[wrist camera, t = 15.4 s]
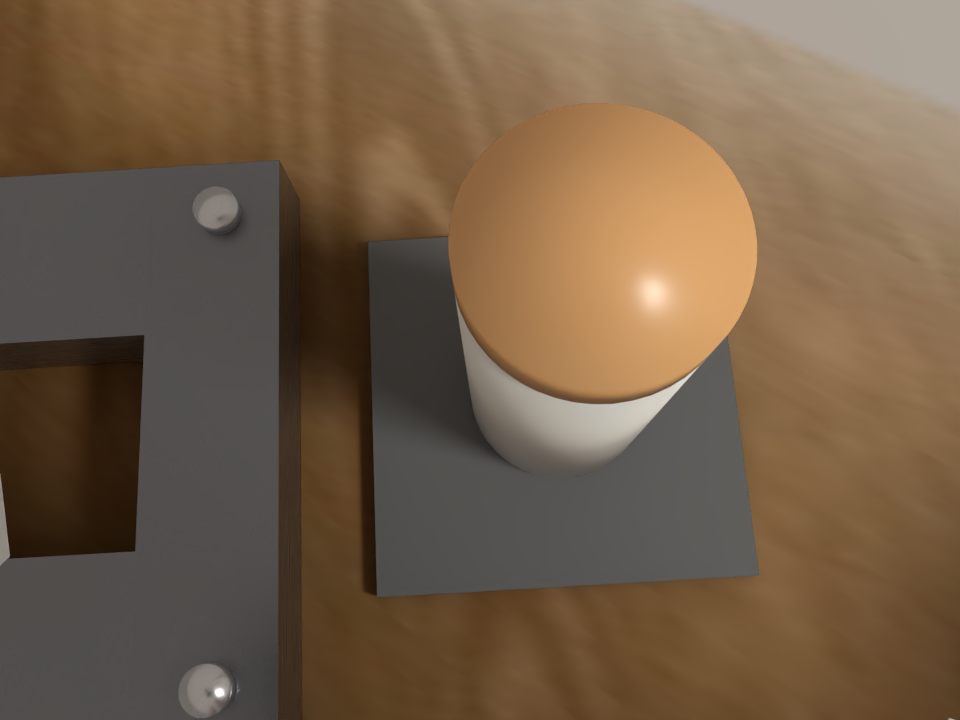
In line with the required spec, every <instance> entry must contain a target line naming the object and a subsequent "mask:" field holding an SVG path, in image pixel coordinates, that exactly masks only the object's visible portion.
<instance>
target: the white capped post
mask: <svg viewBox="0 0 960 720" xmlns="http://www.w3.org/2000/svg"><path fill="white" fill-rule="evenodd" d="M448 247H449V260H450V267H451V273H452V280H453V286H454V293H455V299H456V305H457V312H458V318H459V325H460V331H461V337H462V344H463V350H464V357H465V363H466V370H467V376H468V382H469V389H470V395H471V402H472V408H473V412H474V416H475V419H476V422H477V424H478V426H479V429H480V431H481V432H482V434H483V436H484V437H485V439H486V441H487V442H488V443H489V444H490V446H491V447H492V448H493V449H494V450H495V451H496V452H497V453H498V454H499V455H500V456H501V457H502V458H504V459H505V460H506V461H508V462H509V463H510V464H512V465H514V466H516V467H517V468H519V469H521V470H523V471H526V472H528V473H531V474H534V475H538V476H542V477H549V478H571V477H577V476H582V475H585V474H589V473H591V472H594V471H596V470H598V469H600V468H602V467H604V466H605V465H607V464H609V463H610V462H612V461H613V460H614V459H615V458H617V457H618V456H619V455H620V454H621V453H622V452H623V451H624V450H625V449H626V448H627V447H628V445H629V444H630V443H631V442H632V441H633V440H634V439H635V438H636V436H637V435H638V434H639V433H640V432H641V431H642V430H643V429H644V428H645V426H646V425H647V424H648V423H649V422H650V421H651V420H652V419H653V418H654V416H655V415H656V414H657V413H658V412H659V411H660V410H661V409H662V407H663V406H664V405H665V404H666V403H667V402H668V401H669V400H670V399H671V397H672V396H673V395H674V394H675V393H676V392H677V391H678V390H679V388H680V387H681V386H682V385H683V384H684V383H685V382H686V381H687V380H688V378H689V377H690V376H691V375H692V374H693V373H694V372H695V371H696V370H697V368H698V367H699V366H700V365H701V364H702V363H703V362H704V361H705V359H706V358H707V357H708V356H709V355H710V354H711V353H712V352H713V351H714V349H715V348H716V347H717V346H718V345H719V344H720V343H721V342H722V341H723V339H724V338H725V337H726V336H727V335H728V333H729V332H730V331H731V329H732V328H733V326H734V325H735V323H736V322H737V320H738V319H739V317H740V315H741V313H742V311H743V309H744V307H745V305H746V303H747V301H748V298H749V295H750V292H751V289H752V286H753V282H754V276H755V271H756V265H757V239H756V230H755V224H754V220H753V216H752V212H751V208H750V206H749V203H748V201H747V199H746V196H745V194H744V191H743V189H742V187H741V186H740V184H739V182H738V180H737V179H736V177H735V175H734V174H733V172H732V171H731V170H730V168H729V167H728V166H727V164H726V163H725V162H724V160H723V159H722V158H721V157H720V156H719V155H718V154H717V153H716V152H715V151H714V150H713V149H712V148H711V147H710V146H709V145H708V144H707V143H706V142H704V141H703V140H702V139H701V138H700V137H698V136H697V135H696V134H695V133H693V132H691V131H690V130H688V129H687V128H685V127H683V126H682V125H680V124H679V123H677V122H675V121H672V120H670V119H668V118H666V117H664V116H662V115H659V114H656V113H653V112H650V111H647V110H644V109H641V108H636V107H631V106H626V105H619V104H608V103H591V104H579V105H572V106H565V107H562V108H558V109H554V110H551V111H547V112H544V113H542V114H539V115H537V116H535V117H532V118H530V119H528V120H526V121H524V122H522V123H521V124H519V125H517V126H515V127H513V128H512V129H510V130H509V131H508V132H506V133H505V134H504V135H502V136H501V137H500V138H498V139H497V140H496V141H495V142H494V143H493V144H492V145H491V146H490V147H489V148H488V149H487V150H486V151H485V152H484V153H483V154H482V155H481V156H480V158H479V159H478V160H477V161H476V163H475V164H474V165H473V166H472V168H471V170H470V171H469V173H468V175H467V176H466V178H465V180H464V181H463V183H462V186H461V188H460V190H459V193H458V195H457V197H456V200H455V203H454V207H453V211H452V214H451V219H450V227H449V234H448Z"/></svg>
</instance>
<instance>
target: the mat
mask: <svg viewBox="0 0 960 720" xmlns="http://www.w3.org/2000/svg"><path fill="white" fill-rule="evenodd" d="M368 260H369V299H370V339H371V378H372V418H373V457H374V497H375V536H376V576H377V597H394V596H412V595H429V594H446V593H464V592H481V591H498V590H516V589H533V588H550V587H567V586H585V585H602V584H619V583H637V582H654V581H671V580H689V579H706V578H723V577H741V576H758V575H759V570H758V563H757V555H756V548H755V540H754V533H753V525H752V518H751V510H750V503H749V495H748V487H747V480H746V472H745V465H744V457H743V450H742V442H741V435H740V427H739V419H738V412H737V404H736V397H735V389H734V382H733V374H732V367H731V359H730V352H729V344H728V336H726V337H725V338H724V339H723V341H722V342H721V343H720V344H719V345H718V346H717V347H716V348H715V349H714V351H713V352H712V353H711V354H710V355H709V356H708V357H707V358H706V359H705V361H704V362H703V363H702V364H701V365H700V366H699V367H698V368H697V370H696V371H695V372H694V373H693V374H692V375H691V376H690V377H689V378H688V380H687V381H686V382H685V383H684V384H683V385H682V386H681V387H680V388H679V390H678V391H677V392H676V393H675V394H674V395H673V396H672V397H671V399H670V400H669V401H668V402H667V403H666V404H665V405H664V406H663V407H662V409H661V410H660V411H659V412H658V413H657V414H656V415H655V416H654V418H653V419H652V420H651V421H650V422H649V423H648V424H647V425H646V426H645V428H644V429H643V430H642V431H641V432H640V433H639V434H638V435H637V436H636V438H635V439H634V440H633V441H632V442H631V443H630V444H629V445H628V447H627V448H626V449H625V450H624V451H623V452H622V453H621V454H620V455H619V456H618V457H617V458H615V459H614V460H613V461H612V462H610V463H609V464H607V465H605V466H604V467H602V468H600V469H598V470H596V471H594V472H591V473H589V474H585V475H582V476H577V477H571V478H549V477H542V476H538V475H534V474H531V473H528V472H526V471H523V470H521V469H519V468H517V467H516V466H514V465H512V464H510V463H509V462H508V461H506V460H505V459H504V458H502V457H501V456H500V455H499V454H498V453H497V452H496V451H495V450H494V449H493V448H492V447H491V446H490V444H489V443H488V442H487V441H486V439H485V437H484V436H483V434H482V432H481V431H480V429H479V426H478V424H477V422H476V419H475V416H474V412H473V408H472V402H471V395H470V389H469V382H468V376H467V370H466V363H465V357H464V350H463V344H462V337H461V331H460V325H459V318H458V312H457V305H456V299H455V293H454V286H453V280H452V273H451V267H450V260H449V247H448V237H437V238H420V239H404V240H388V241H371V242H368Z"/></svg>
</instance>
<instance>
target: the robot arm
mask: <svg viewBox="0 0 960 720" xmlns="http://www.w3.org/2000/svg"><path fill="white" fill-rule="evenodd" d="M9 557H10V552H9V543H8V535H7V526H6V518H5V509H4V501H3V492H2V484H1V475H0V566H1V565H2V564H3V563H4V562H5V561H6V560H7V559H8V558H9ZM947 720H954V719H951V718H948V719H947Z"/></svg>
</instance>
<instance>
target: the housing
mask: <svg viewBox="0 0 960 720" xmlns="http://www.w3.org/2000/svg"><path fill="white" fill-rule="evenodd" d="M141 361H143V380H142V404H141V427H140V451H139V474H138V498H137V521H136V545H135V551H134V552H117V553H100V554H82V555H65V556H48V557H31V558H14V559H7V560H6V561H5V562H4V563H3V564H2V565H1V566H0V720H302V652H301V415H300V199H299V197H298V195H297V194H296V192H295V190H294V188H293V186H292V184H291V182H290V180H289V178H288V176H287V174H286V172H285V170H284V168H283V167H282V165H281V163H280V161H279V160H275V161H258V162H242V163H226V164H210V165H194V166H178V167H162V168H145V169H129V170H113V171H97V172H81V173H65V174H49V175H32V176H16V177H0V370H8V369H25V368H41V367H58V366H75V365H91V364H108V363H124V362H141Z"/></svg>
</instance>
